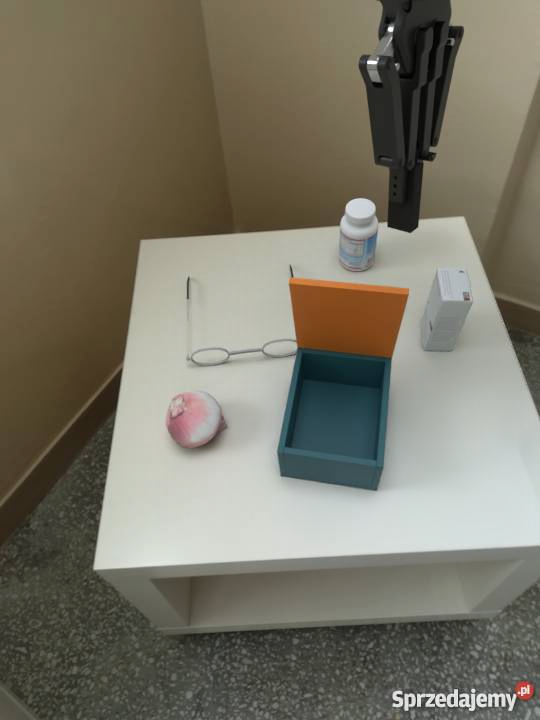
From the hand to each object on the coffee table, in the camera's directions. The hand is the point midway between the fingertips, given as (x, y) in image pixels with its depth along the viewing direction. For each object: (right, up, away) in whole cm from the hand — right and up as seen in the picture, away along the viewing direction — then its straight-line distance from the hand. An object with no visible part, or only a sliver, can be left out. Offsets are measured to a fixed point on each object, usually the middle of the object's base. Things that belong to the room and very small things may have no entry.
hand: (402, 226), depth 54 cm
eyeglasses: (-18, -6, +32) cm, 37 cm away
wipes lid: (-5, -9, +9) cm, 14 cm away
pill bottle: (+1, +4, +37) cm, 37 cm away
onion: (-23, -23, +21) cm, 39 cm away
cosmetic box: (+12, -10, +27) cm, 31 cm away
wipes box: (-4, -23, +19) cm, 31 cm away
